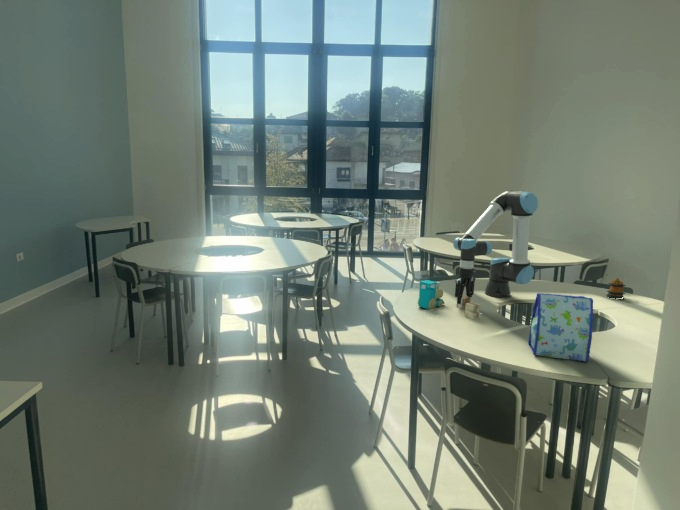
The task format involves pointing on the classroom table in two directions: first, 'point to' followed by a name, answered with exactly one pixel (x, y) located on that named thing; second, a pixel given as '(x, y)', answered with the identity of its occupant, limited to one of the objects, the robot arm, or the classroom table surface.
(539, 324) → the lunch bag
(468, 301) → the walnut block
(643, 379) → the classroom table surface
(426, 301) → the toy train
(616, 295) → the orange tiered tower
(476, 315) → the maple block
